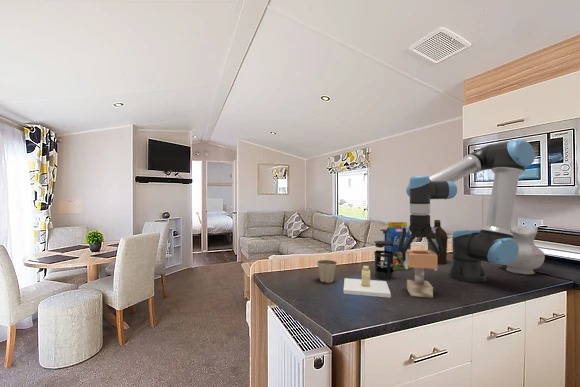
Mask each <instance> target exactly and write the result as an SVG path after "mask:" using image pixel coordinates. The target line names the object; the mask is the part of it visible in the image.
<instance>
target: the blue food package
mask: <svg viewBox="0 0 580 387" xmlns="http://www.w3.org/2000/svg"><path fill="white" fill-rule="evenodd" d="M402 227H408V222H407V221H400V222H399V221H395V222H394V221H391V222H389V221H388V222H387V228H386V230H389V231H385V234H384V241H390V242H394V244H393V247H391V246H384V247H383V251H390V252H393V253H394V256H393V271H399V270H400V271H402V270H409V269H411V268H410V267H409V266H408V269H406V268H405V261H403V259H402V252H401V251H398V249H397V247H398V244H399V241H400V237H401V234H402ZM410 235H411V232H410V230H408V232H407V233H406V236H405V239H404V242H403V246H402V249H403V247H404V245H405V244H406V242H407V241H408V239H409V237H410ZM411 246H412V244H411V245H410V246H409V248H408V249H407V250H412V248H411ZM383 254H386V253H383ZM383 261H385V262H387V257H383ZM384 268H387V267H384Z"/></svg>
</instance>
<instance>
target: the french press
mask: <svg viewBox="0 0 580 387" xmlns="http://www.w3.org/2000/svg"><path fill="white" fill-rule="evenodd" d="M379 231H380V232H382V234H383V235H385V231H389V230H387V228H386V229H383V228H382V229H381V228H380V229H379ZM374 244H375V248H384V247H385V246H391V247H393V244H394V242H390V241H385V240H375V241H374ZM373 252H374V255H373V256H374V269H373V273H374V274H373V277H374V278H375V279H377V280H380V281H391V280H394V279H395V274H394V273H395V270H393V256H394V253H393V252H390V251H384V250H381V249H380V250H379V249H377V250H375V251H373ZM384 253H386V254H384ZM384 257H387V262H385V261H384V260H383V261H382V258H384ZM385 267H387V268H385Z"/></svg>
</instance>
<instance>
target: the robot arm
mask: <svg viewBox="0 0 580 387" xmlns="http://www.w3.org/2000/svg"><path fill="white" fill-rule="evenodd" d="M535 156H536V155H535V150H534V148H533V147H532V145H531V144H530V142H528V141H527V140H524V139H515V140H513V139H511V140H509V141H504V142H497V143H492V144H488V145H484V146H482V147H480V148H479V149H476V150H475V151H472V152H471V153H468V154H467V155H465V156H463V158H462V159H461V160H459V161H457V162H455V163H453V164H451V165H449V166H447V167H444V168H443V169H441V170H439V171H438V172H435V173H434V174H433V173H432V175H429V176H428V175H417V176H416V175H415V176H411V177H410V178H409V184H408V185H407V187H406V194H407V196H408V197H409V213H410V215H409V225H408V226H407V227H402V234H401V237H400V241H399V244H398V247H397V249H398V251H401V252H402V259H403V261H405V268H406V269H405V270H409V269H408V253H407V252H406V251H407V249H408V248H409V246H410V245H411V246H412V243H413V241H414V240H415V238H424V239H426V240H427V243H428V242H429V243H430V245H431V247H432V248H433V250H434V251H435V254H436V255H437V262H439V254H440V253H442V252H443V253H444V252H445V250H444V247H443V244H442V241H441V238H440V235H439V228H437V227H435V228H433V227H432V226H431V215H430V214H431V200H451V199H453V198H455V197H456V196H457V193H458V187H457V184H456V183H455V182H457V181H459V180H462V179H463V178H465V177H467V176H469V175H471V174H477V173H479V172H482V171H487V170H491V172H492V173H493V174H494V177H493V180H492V181H493V182H492V187H491V188H492V189H491V194H490V198H489V203H488V204H489V205H488V208H487V209H488V211H487V215H486V221H485V225H484V226H483V227H481V229H469V230H468V229H462V230H461V229H458V230H455V231H453V233H452V261H451V263H450V267H449V268H448V271H447V272H448V277H449V278H451V279H453V280H458V281H461V282H468V283H484V282H486V280H487V278H486V277H487V276H486V273H485V270H484V268H483V265H482V261H484V262H488V263H491V264H493V265H498V266H499V265H501V266H506V265H507V264H509V263H511V262H512V261H514V260H515V258H516V257H517V254H518V251H519V247H518V245H517V242H516V241H515V240H514V239H513V234H512V233H511V232H510V226H512V225H511V224H512V219H513V213H514V207H515V202H516V195H517V190H518V184H519V180H520V176H522V175H523V174H525V171H526V167H529V166H531V165H532V164H534V161H535V158H536V157H535ZM408 230H409V232H410V237H409V239H408V241H407V242H406V244H405V245H404V247H403V249H402V246H403V242H404V239H405V236H406V233H407V232H408ZM431 230H432V231H433V233H434V235H435V238H436V241H437V244H438V247H439V249H437V247H436V245H435V244H434V242H433V241H432V239H431V237H430V236H429V233H430V232H431ZM433 270H434V271H435V272H436V271H438V269H433Z"/></svg>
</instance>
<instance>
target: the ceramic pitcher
mask: <svg viewBox="0 0 580 387" xmlns="http://www.w3.org/2000/svg"><path fill="white" fill-rule="evenodd" d="M511 226H512V225H511ZM511 226H510V232H511V233H512V234H513V239H514V240H515V241H516V242H517V245H518V247H519V251H518V254H517V257H516V258H515V260H514V261H512V262H511V263H509V264H507V265H505V266H507V267H506V268H505V271H507V272H510V273H514V274H517V275H518V274H520V275H522V274H523V275H527V276H528V275H533V274H536V272H535V271H534V270H535V269H537V270H538V268H540V267H541V266H542V265H543V264H544V261H545V257H546V256H545V253H544V251H543V250H541V249H540V248H539V247H537V245H535V243H534V240H535V238H536V235H537V234H538V228H539V227H538V226H537V225H533V226H532V228H530V227H527V226H524V225H520V224H519V225H515V226H514V227H513V228H512V227H511Z"/></svg>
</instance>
